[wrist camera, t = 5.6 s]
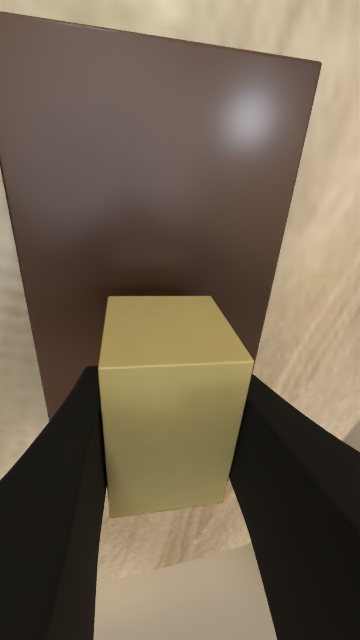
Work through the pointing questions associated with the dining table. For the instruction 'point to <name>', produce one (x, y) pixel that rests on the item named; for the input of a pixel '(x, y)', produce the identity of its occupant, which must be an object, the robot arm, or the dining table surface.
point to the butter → (169, 402)
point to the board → (143, 177)
